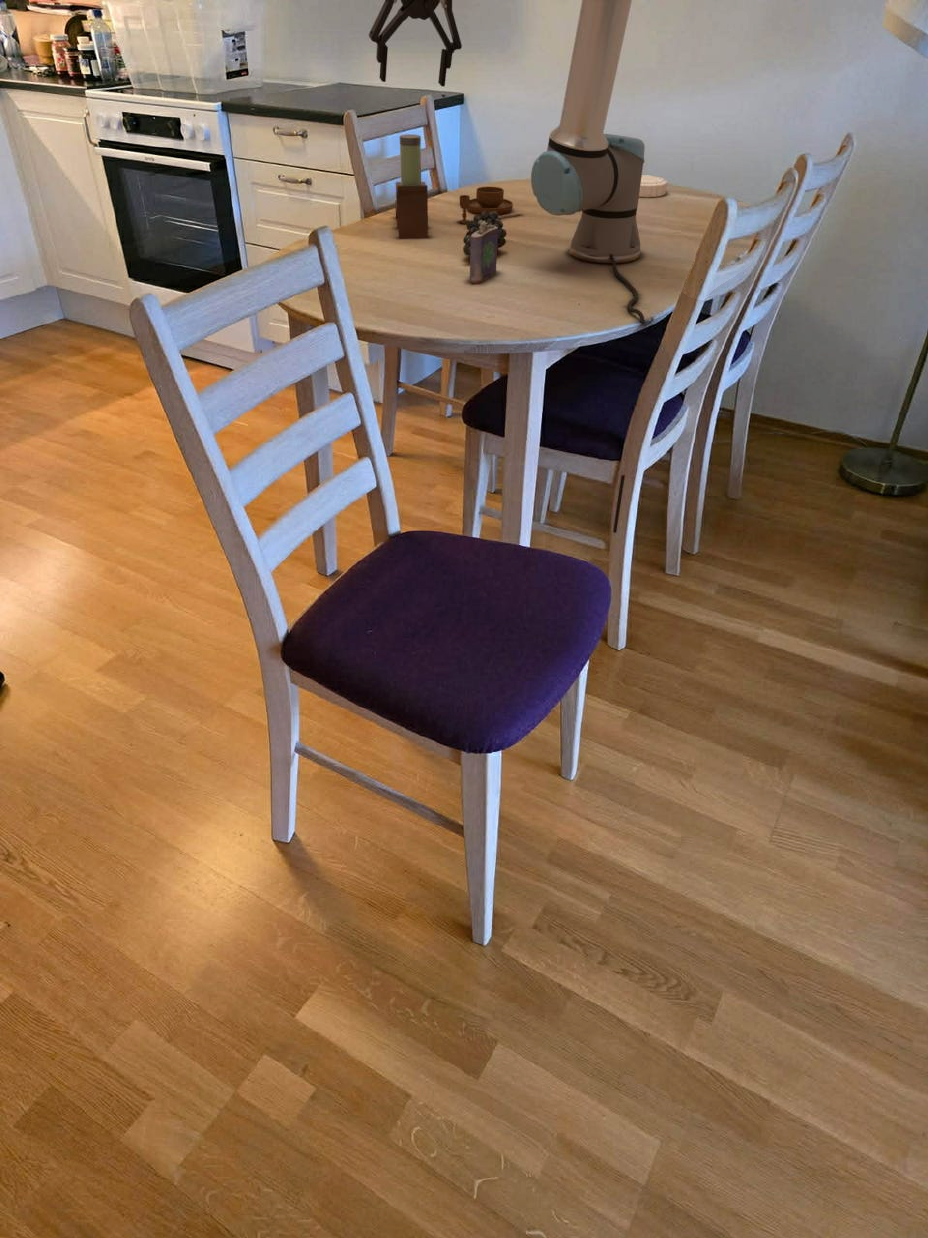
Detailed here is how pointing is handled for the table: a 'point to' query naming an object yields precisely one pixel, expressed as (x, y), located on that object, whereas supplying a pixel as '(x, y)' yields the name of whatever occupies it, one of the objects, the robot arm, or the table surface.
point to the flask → (483, 252)
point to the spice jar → (410, 159)
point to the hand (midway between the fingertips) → (412, 82)
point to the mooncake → (652, 186)
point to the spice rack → (412, 210)
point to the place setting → (486, 202)
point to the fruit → (491, 220)
